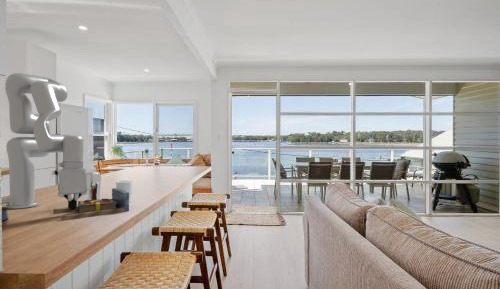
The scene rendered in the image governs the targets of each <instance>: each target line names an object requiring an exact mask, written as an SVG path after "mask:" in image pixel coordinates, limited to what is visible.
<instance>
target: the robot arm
mask: <svg viewBox="0 0 500 289" xmlns="http://www.w3.org/2000/svg"><path fill="white" fill-rule="evenodd" d="M4 89H5V93H6V97H7V100H8V107H9V108H8V109H9V110H8V111H9V114H8V115H9V126H10V127H9V128H10V130H11V132H13V133H14V134H17V135H18V134H19V135H33V136H17V137H12V138H10V139H9V140H7V143H6V146H5V147H6V153H7V158H8V166H9V167H8V171H9V172H8V174H9V196H8V197H7V198H3V199H2V198H1V199H2V204H1V205H4V204H5V208H6V209H27V208H33V207H36V206H39V205H40V204H39V203H40V202H39V201H36V200H35V199H36V198H35V197H36V195H35V192H36V190H35V189H36V186H35V184H36V182H35V173H36V172H35V166H34V165H35V164H34V163H33V162H32V161H31V158H43V157H46V156H48V155H49V154H51V153H53V154H54V153H62V161H61V162H59V163H58V167H61V169H60V170H59V175H58V176H59V177H58V182H57V183H58V184H57V185H58V186H57V187H58V189H57V190H58V193H57V196H58V197H59V198H64V199H66V200H67V208H70V210H71V212H73V211H72V210H75V208H77V207H78V200H79V199H80V198H81V197H83V196H85V195H86V196H87V176H86V173H87V171H86V170H87V169H86V168H84V137H83V136H81V135H71V134H56V133H55V134H54V133H51V125H50V124H51V123H50V121H53V120H55V119H58V118H59V116H61V114H62V110H61V107H60V104H59V103H64V102H65V101H66V100H67V98H68V91H67V88H66V87H65V86H64V84H62V83H60V82H58V81H56V80H54V79H52V78H49V77H45V76H39V75H34V74H29V73H19V72H18V73H12V74H10V75H8V76H7V78H6V79H5V87H4ZM26 94H30V95H31V96H32V99H33V101H34V105H35V107H36V111H37V113H33V105H32V102H31V99H29V98H28V96H27V95H26ZM72 194H73V198H72Z"/></svg>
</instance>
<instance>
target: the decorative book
mask: <svg viewBox="0 0 500 289" xmlns="http://www.w3.org/2000/svg"><path fill="white" fill-rule="evenodd" d="M116 204H117V202H116V201H115V199H112V198H101V199H100V200H87V199H85V200H79V201H78V200H77V207H79V209H78V211H77V214H78V213H86V212H94V211H101V210H109V209H116ZM118 208H119V207H118Z"/></svg>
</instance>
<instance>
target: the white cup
mask: <svg viewBox="0 0 500 289" xmlns="http://www.w3.org/2000/svg"><path fill="white" fill-rule="evenodd" d="M133 184H134V180H118V181H115V188H117V189H120V190H123V191H126V192H129V203H130V202H133V187H134V186H133Z"/></svg>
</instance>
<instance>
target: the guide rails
mask: <svg viewBox="0 0 500 289" xmlns="http://www.w3.org/2000/svg"><path fill="white" fill-rule="evenodd" d="M111 199H115V201H116V202H117V204H116V209H109V210H101V211H94V212H86V213H78V209H79V207H78V206H77V208H75V210H72V211H71V210H70V208H68V207H63V208H55V209H53V214H54V215H55V214H63V213H70V212H77V213H72V214H64V215H61V221H67V220H73V219H83V218H89V217H90V218H91V217H96V216H95V215H97V216H103V214H104V215H110V214H118V213H124V212H125V213H126V212H130V202H129V192H126V191H123V190H120V189H117V188H116V187H115V188H111ZM118 207H119V208H118Z"/></svg>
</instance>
